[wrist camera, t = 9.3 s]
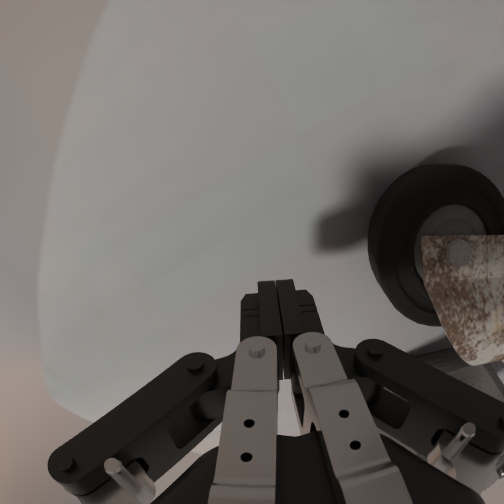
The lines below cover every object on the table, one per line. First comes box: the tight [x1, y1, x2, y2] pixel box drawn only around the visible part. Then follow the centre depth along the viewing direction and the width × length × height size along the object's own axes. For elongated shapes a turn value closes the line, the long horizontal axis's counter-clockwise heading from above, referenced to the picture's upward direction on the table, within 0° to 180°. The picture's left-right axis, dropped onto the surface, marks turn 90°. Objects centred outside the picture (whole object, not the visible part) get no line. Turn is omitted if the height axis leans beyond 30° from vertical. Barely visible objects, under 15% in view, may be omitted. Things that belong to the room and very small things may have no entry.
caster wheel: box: [368, 164, 504, 366], centre depth 14 cm, size 7×11×10 cm
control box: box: [377, 348, 504, 492], centre depth 17 cm, size 9×9×12 cm
